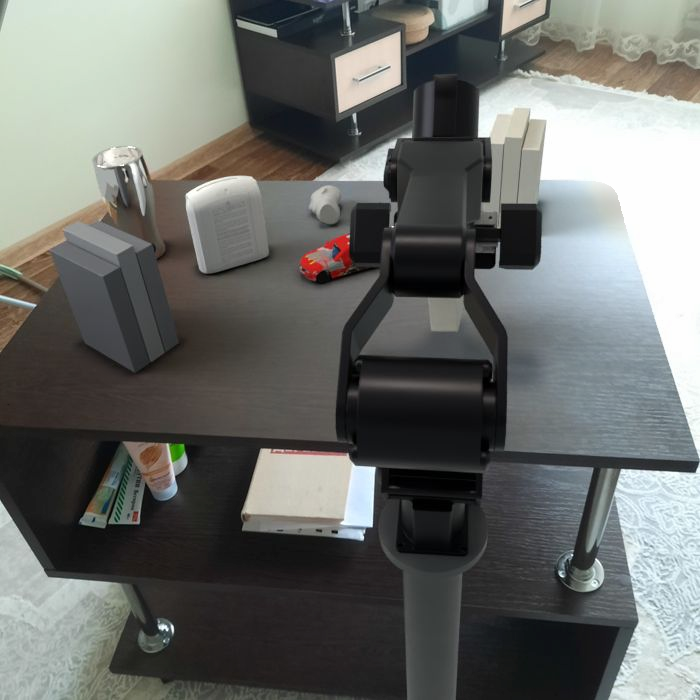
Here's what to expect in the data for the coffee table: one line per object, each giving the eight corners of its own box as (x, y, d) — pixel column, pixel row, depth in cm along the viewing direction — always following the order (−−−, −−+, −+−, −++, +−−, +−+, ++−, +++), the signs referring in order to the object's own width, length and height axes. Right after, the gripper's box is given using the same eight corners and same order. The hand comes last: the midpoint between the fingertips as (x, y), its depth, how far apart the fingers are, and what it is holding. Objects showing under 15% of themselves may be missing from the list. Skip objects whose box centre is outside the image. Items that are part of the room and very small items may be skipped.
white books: (530, 237, 102) (540, 138, 93) (481, 233, 104) (487, 135, 95) (537, 203, 110) (547, 108, 100) (492, 199, 111) (497, 106, 102)
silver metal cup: (178, 245, 107) (154, 149, 97) (147, 270, 102) (119, 171, 93) (142, 236, 110) (115, 141, 100) (110, 259, 105) (79, 162, 96)
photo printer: (263, 243, 106) (250, 164, 98) (274, 257, 103) (262, 176, 95) (195, 264, 103) (176, 184, 95) (204, 279, 100) (185, 197, 92)
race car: (307, 289, 96) (303, 263, 94) (294, 268, 100) (291, 243, 98) (399, 264, 99) (398, 238, 97) (383, 245, 103) (382, 220, 101)
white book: (458, 332, 81) (450, 223, 74) (431, 331, 81) (421, 224, 74) (465, 300, 86) (458, 196, 79) (439, 300, 87) (431, 197, 80)
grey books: (179, 343, 89) (150, 236, 79) (135, 373, 85) (98, 264, 75) (128, 315, 94) (94, 212, 85) (84, 343, 90) (44, 238, 81)
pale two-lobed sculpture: (316, 209, 115) (346, 199, 114) (312, 235, 109) (344, 224, 107) (305, 186, 113) (336, 175, 111) (300, 210, 106) (332, 199, 105)
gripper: (551, 127, 65) (533, 184, 80) (344, 129, 68) (365, 184, 83) (548, 250, 64) (530, 284, 79) (338, 247, 67) (360, 280, 82)
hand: (445, 254), depth 81 cm, fingers closed on white book, 3 cm apart
